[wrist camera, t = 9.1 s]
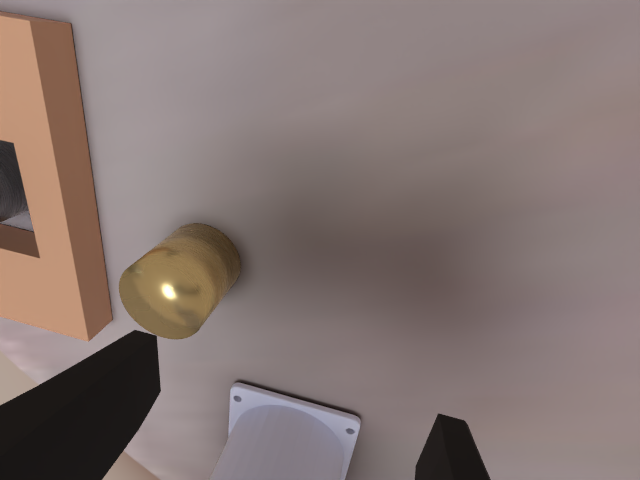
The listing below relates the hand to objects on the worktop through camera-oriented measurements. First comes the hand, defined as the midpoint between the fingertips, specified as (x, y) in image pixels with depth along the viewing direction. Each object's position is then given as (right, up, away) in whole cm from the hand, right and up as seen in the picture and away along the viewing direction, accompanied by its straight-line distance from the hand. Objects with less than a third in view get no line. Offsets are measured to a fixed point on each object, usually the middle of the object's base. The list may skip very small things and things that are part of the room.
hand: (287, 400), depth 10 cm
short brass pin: (-5, +3, +11) cm, 12 cm away
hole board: (-16, +7, +11) cm, 20 cm away
